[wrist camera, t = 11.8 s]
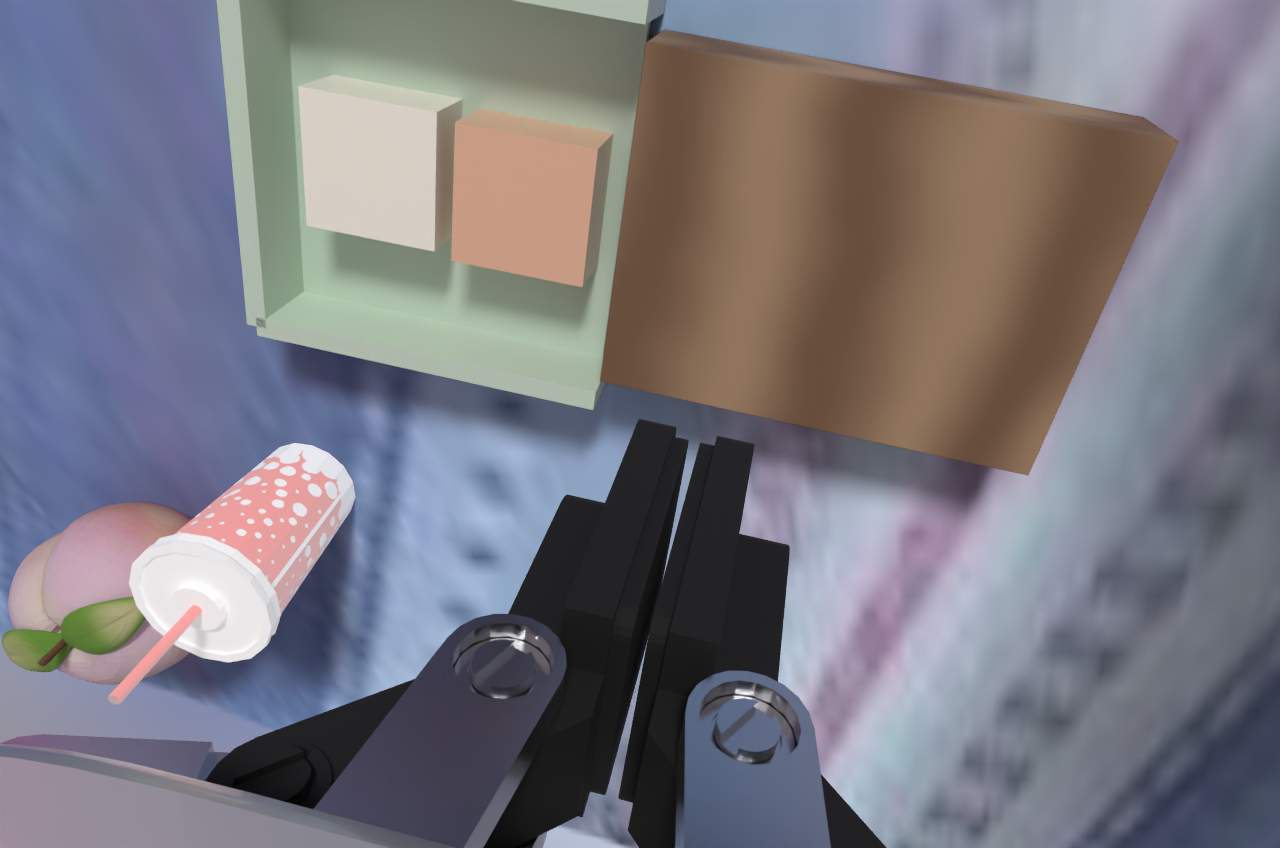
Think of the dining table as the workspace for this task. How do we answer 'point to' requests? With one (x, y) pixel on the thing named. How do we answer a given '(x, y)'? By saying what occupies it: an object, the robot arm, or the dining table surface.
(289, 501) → the beverage cup
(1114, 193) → the walnut board
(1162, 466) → the dining table surface
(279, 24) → the tray
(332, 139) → the tile cream
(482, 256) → the tile terracotta
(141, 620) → the decorative fruit
